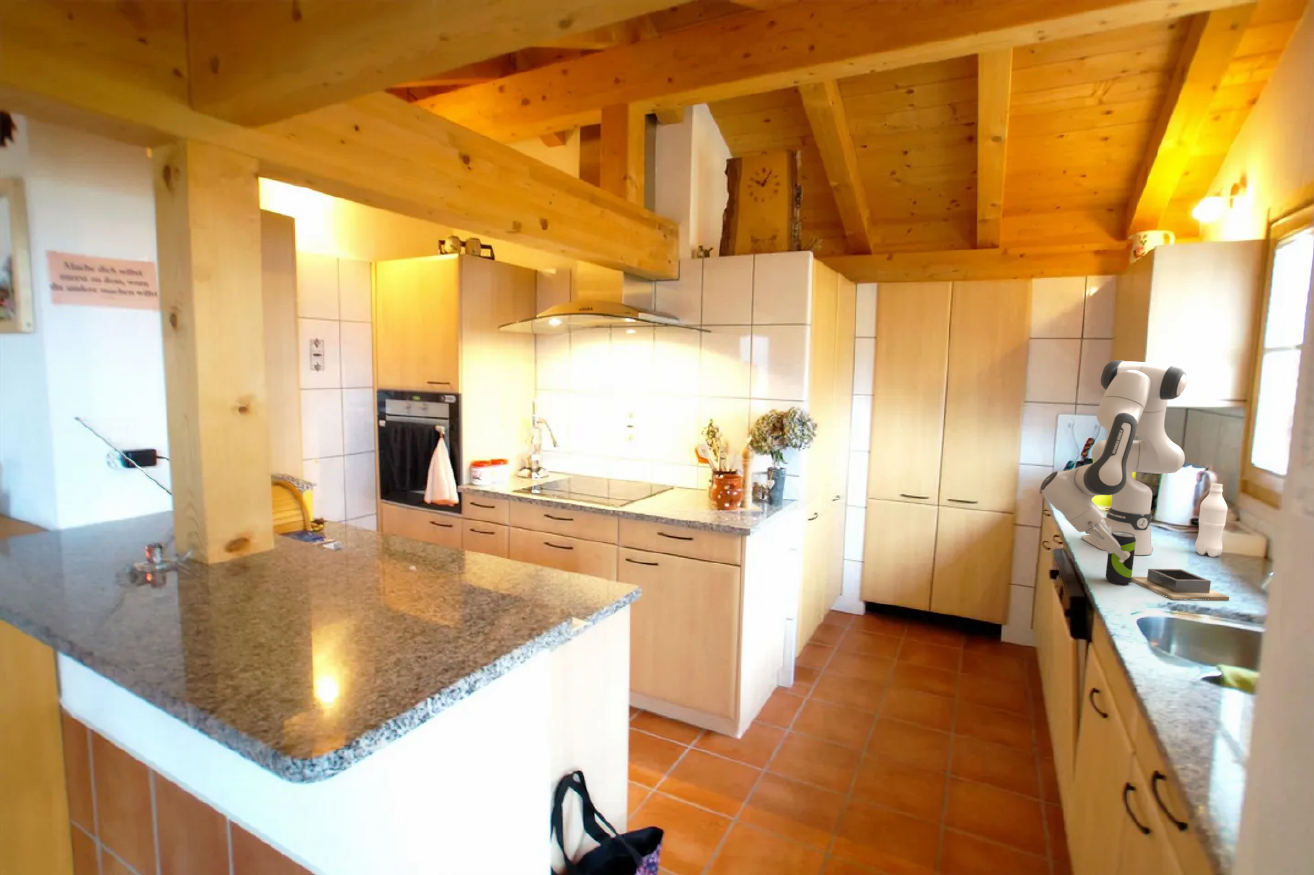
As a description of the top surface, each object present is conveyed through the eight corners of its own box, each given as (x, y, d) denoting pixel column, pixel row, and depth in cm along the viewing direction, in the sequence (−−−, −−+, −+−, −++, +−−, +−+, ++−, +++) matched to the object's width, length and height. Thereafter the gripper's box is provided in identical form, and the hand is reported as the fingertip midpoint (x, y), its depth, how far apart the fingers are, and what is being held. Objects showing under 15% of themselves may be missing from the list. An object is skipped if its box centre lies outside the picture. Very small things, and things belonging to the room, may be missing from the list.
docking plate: (1129, 579, 192) (1129, 576, 191) (1180, 580, 192) (1180, 577, 192) (1172, 599, 176) (1173, 596, 176) (1228, 600, 176) (1229, 596, 176)
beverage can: (1108, 576, 194) (1113, 529, 192) (1133, 582, 189) (1138, 534, 187) (1102, 581, 190) (1107, 533, 188) (1127, 587, 185) (1133, 537, 183)
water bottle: (1227, 557, 215) (1236, 486, 212) (1207, 558, 215) (1216, 486, 212) (1207, 551, 222) (1217, 482, 219) (1188, 551, 222) (1197, 481, 219)
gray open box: (1146, 580, 189) (1148, 568, 188) (1179, 580, 189) (1181, 569, 188) (1174, 592, 179) (1176, 580, 178) (1209, 592, 179) (1210, 581, 178)
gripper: (1101, 520, 181) (1140, 558, 178) (1093, 506, 199) (1127, 540, 196) (1081, 533, 184) (1119, 571, 180) (1074, 518, 202) (1108, 552, 198)
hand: (1123, 555), depth 188 cm, fingers closed on beverage can, 6 cm apart
